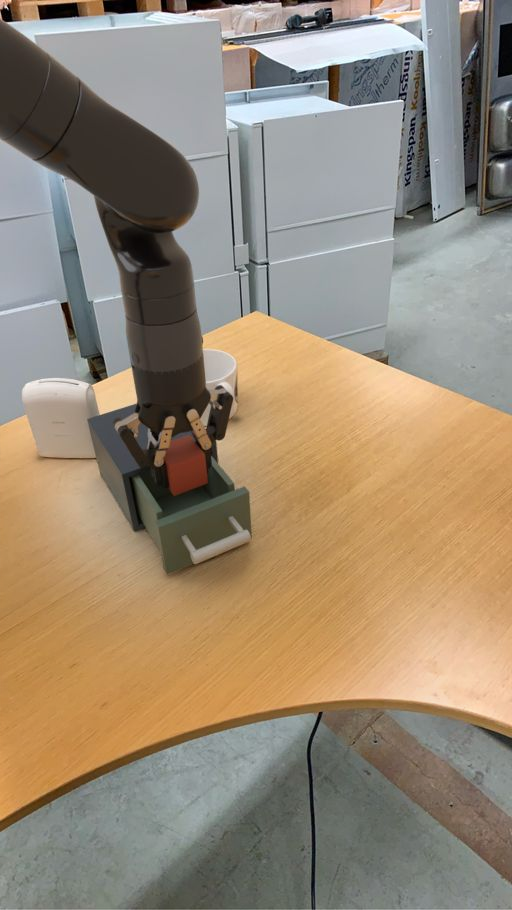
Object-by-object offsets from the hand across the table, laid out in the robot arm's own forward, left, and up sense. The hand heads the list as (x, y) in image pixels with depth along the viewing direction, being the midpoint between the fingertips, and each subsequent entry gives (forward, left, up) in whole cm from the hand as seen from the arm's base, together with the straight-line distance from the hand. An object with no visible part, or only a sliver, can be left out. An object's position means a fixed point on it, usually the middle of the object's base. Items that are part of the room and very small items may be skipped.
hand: (182, 477), depth 78 cm
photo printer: (-8, +25, -9) cm, 27 cm away
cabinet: (0, +11, -9) cm, 14 cm away
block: (0, 0, 0) cm, 0 cm away
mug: (+14, +23, -9) cm, 28 cm away
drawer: (0, -2, -8) cm, 8 cm away
